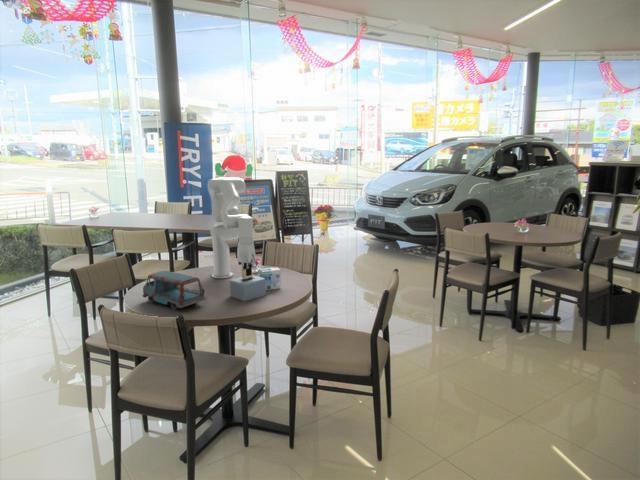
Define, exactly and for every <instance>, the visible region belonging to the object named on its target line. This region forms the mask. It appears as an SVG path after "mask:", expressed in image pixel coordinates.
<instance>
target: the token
mask: <svg viewBox="0 0 640 480" xmlns="http://www.w3.org/2000/svg"><path fill="white" fill-rule="evenodd" d="M253 275H254V273H253V272H252V275H250V276H246V268H243V267H242V268H241V277H242V278H243V279H247V278H250V277H253Z"/></svg>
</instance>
